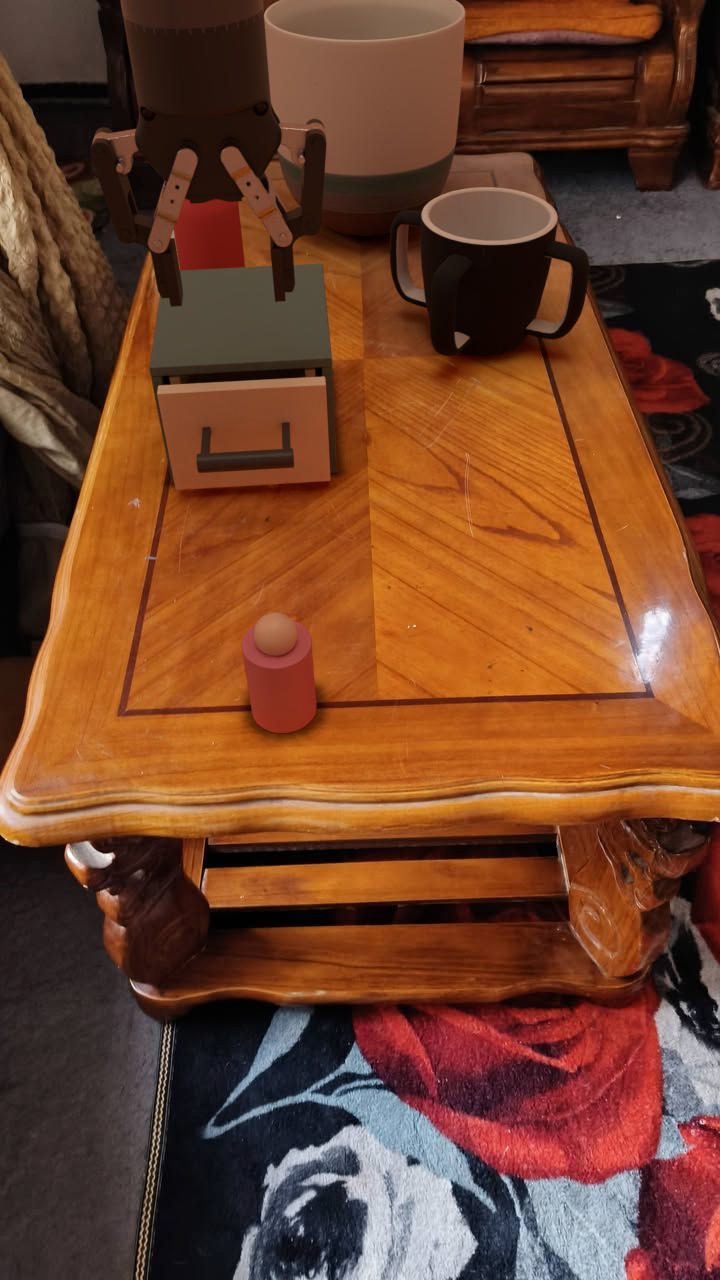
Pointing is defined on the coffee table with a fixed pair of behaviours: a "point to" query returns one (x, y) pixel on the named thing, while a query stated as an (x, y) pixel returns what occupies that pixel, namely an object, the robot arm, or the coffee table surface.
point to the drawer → (246, 428)
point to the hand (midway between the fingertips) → (229, 297)
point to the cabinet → (244, 330)
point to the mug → (486, 269)
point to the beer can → (209, 236)
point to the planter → (369, 100)
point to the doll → (280, 673)
